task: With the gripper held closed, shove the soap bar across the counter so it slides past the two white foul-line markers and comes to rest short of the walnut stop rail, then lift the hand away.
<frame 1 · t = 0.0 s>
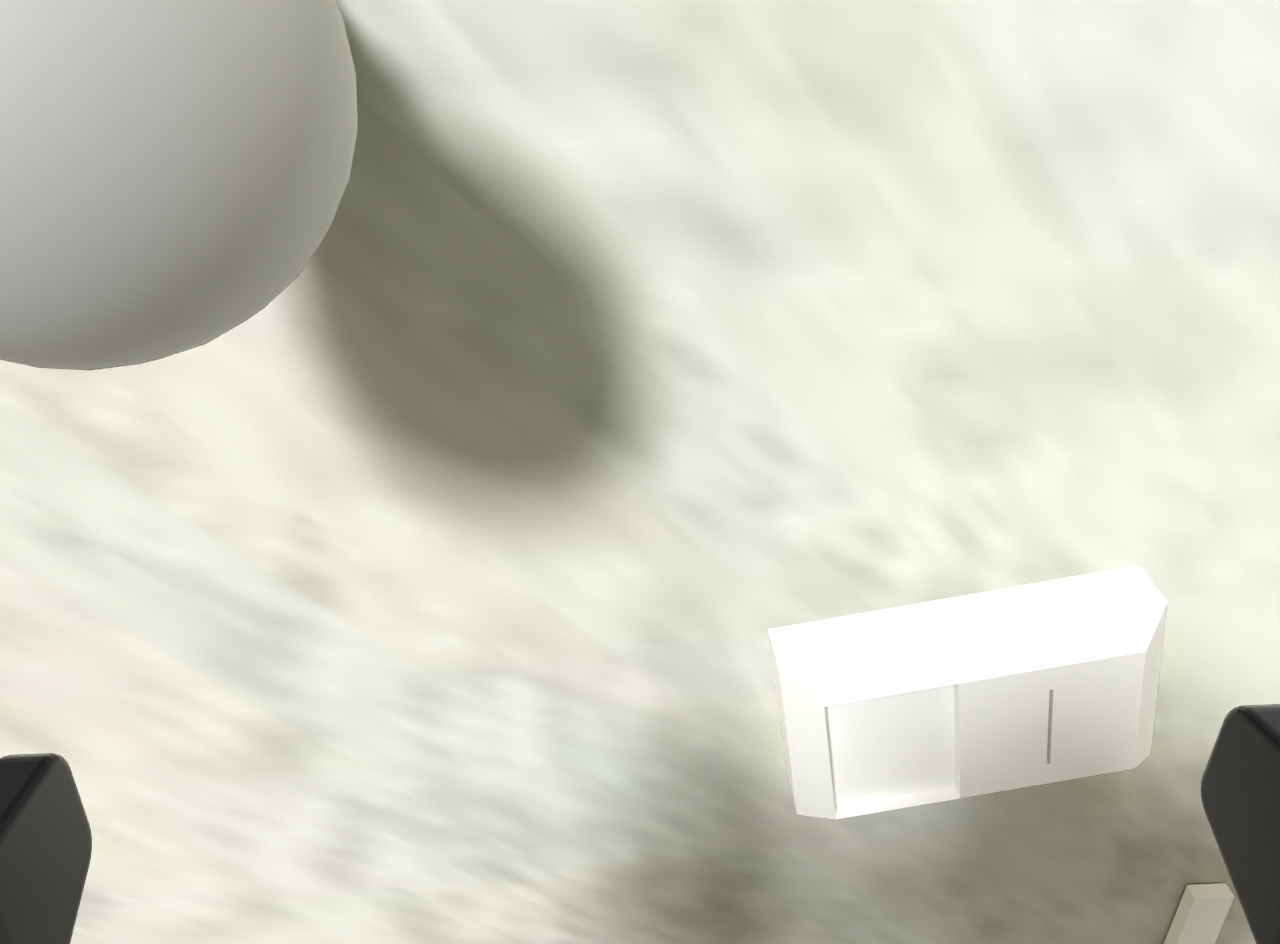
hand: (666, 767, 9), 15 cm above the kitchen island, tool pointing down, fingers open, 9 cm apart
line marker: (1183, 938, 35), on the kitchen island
soap bar: (947, 658, 29), on the kitchen island
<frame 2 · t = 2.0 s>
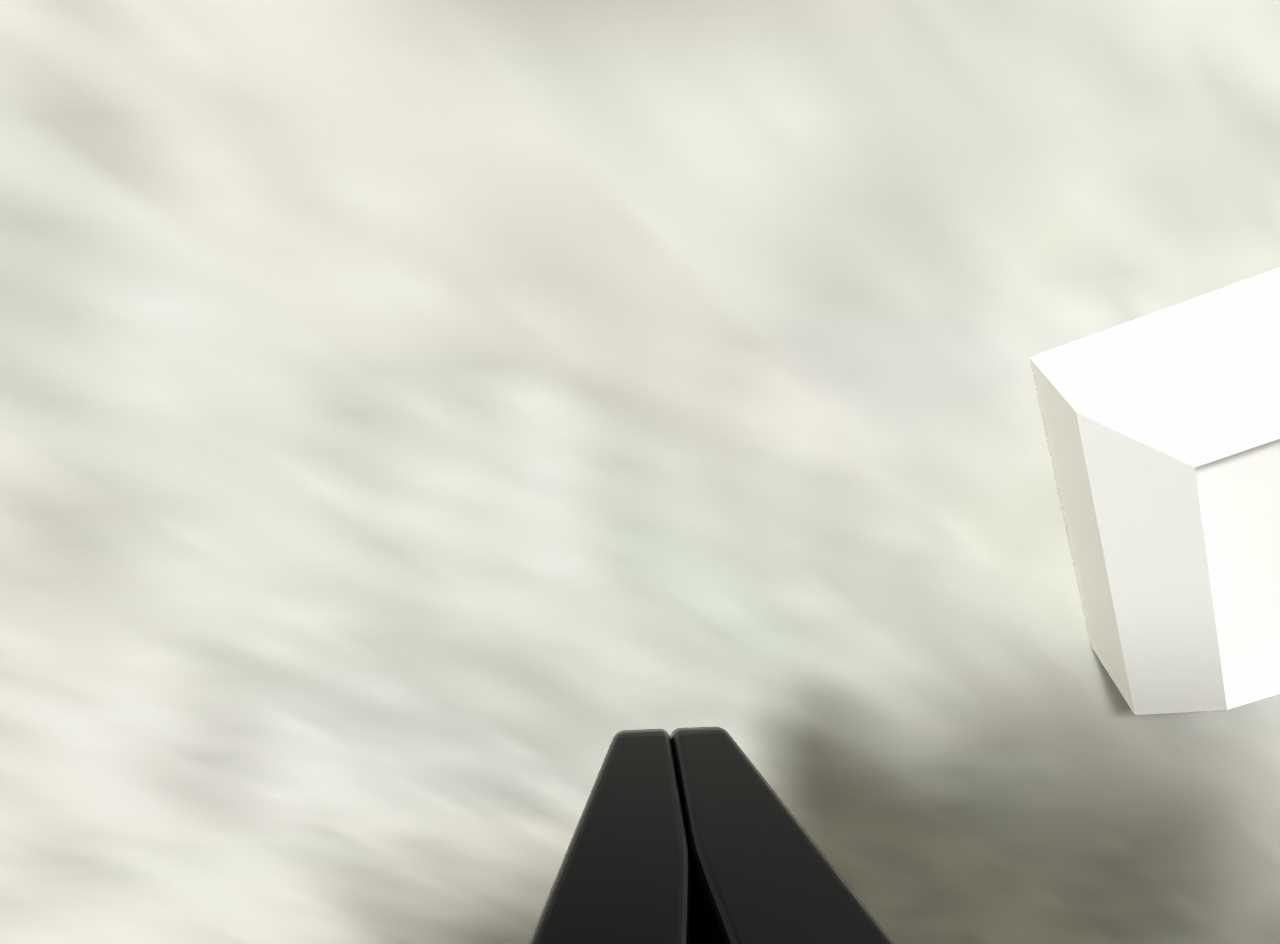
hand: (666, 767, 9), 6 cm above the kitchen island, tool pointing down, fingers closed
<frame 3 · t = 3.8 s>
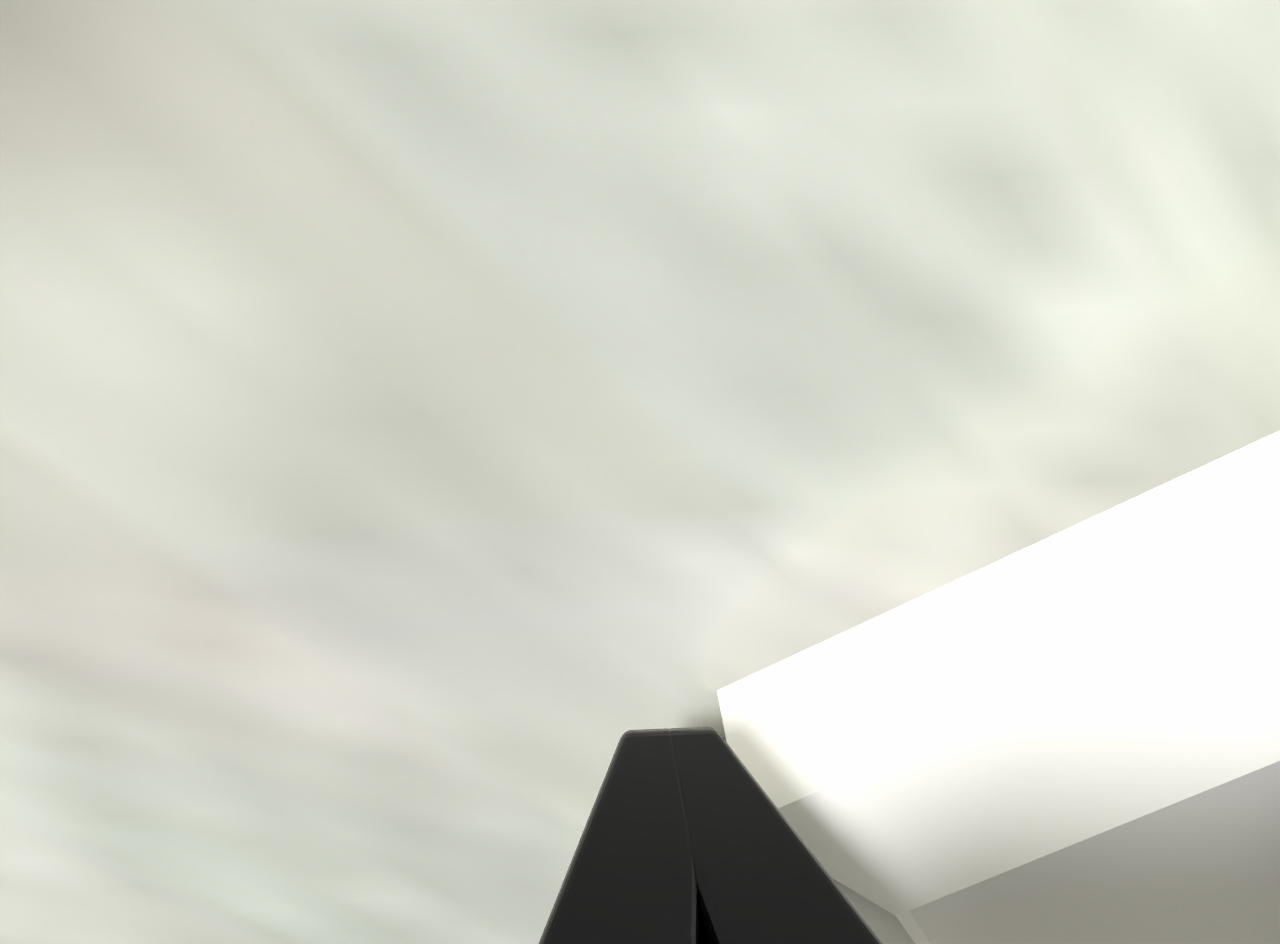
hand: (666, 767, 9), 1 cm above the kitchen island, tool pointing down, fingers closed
soap bar: (1238, 631, 11), on the kitchen island, touching gripper
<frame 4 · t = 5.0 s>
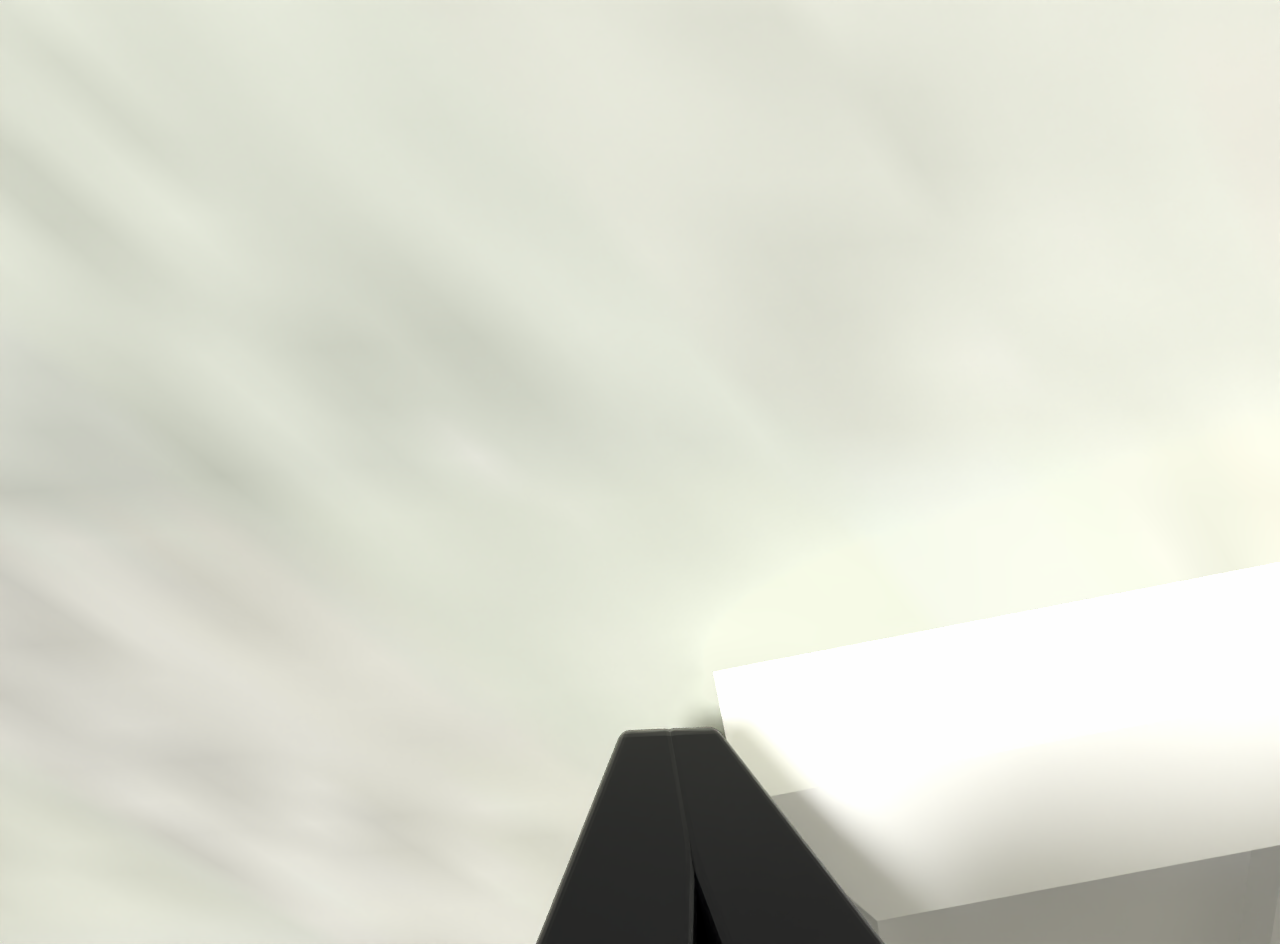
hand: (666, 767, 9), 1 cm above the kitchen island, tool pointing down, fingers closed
soap bar: (1169, 735, 12), on the kitchen island, touching gripper
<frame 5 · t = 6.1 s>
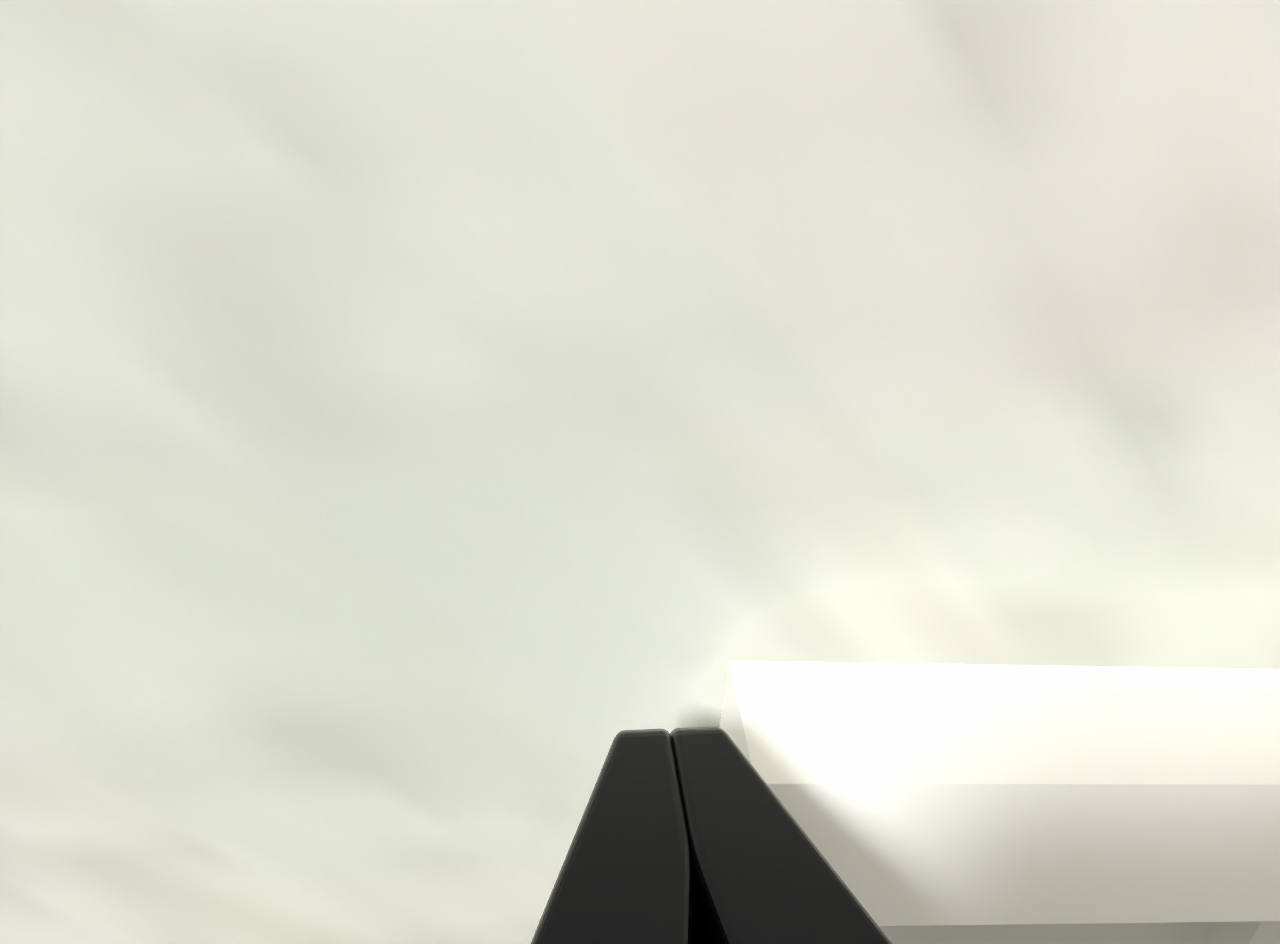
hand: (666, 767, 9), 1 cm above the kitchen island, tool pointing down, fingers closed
soap bar: (1105, 807, 12), on the kitchen island, touching gripper
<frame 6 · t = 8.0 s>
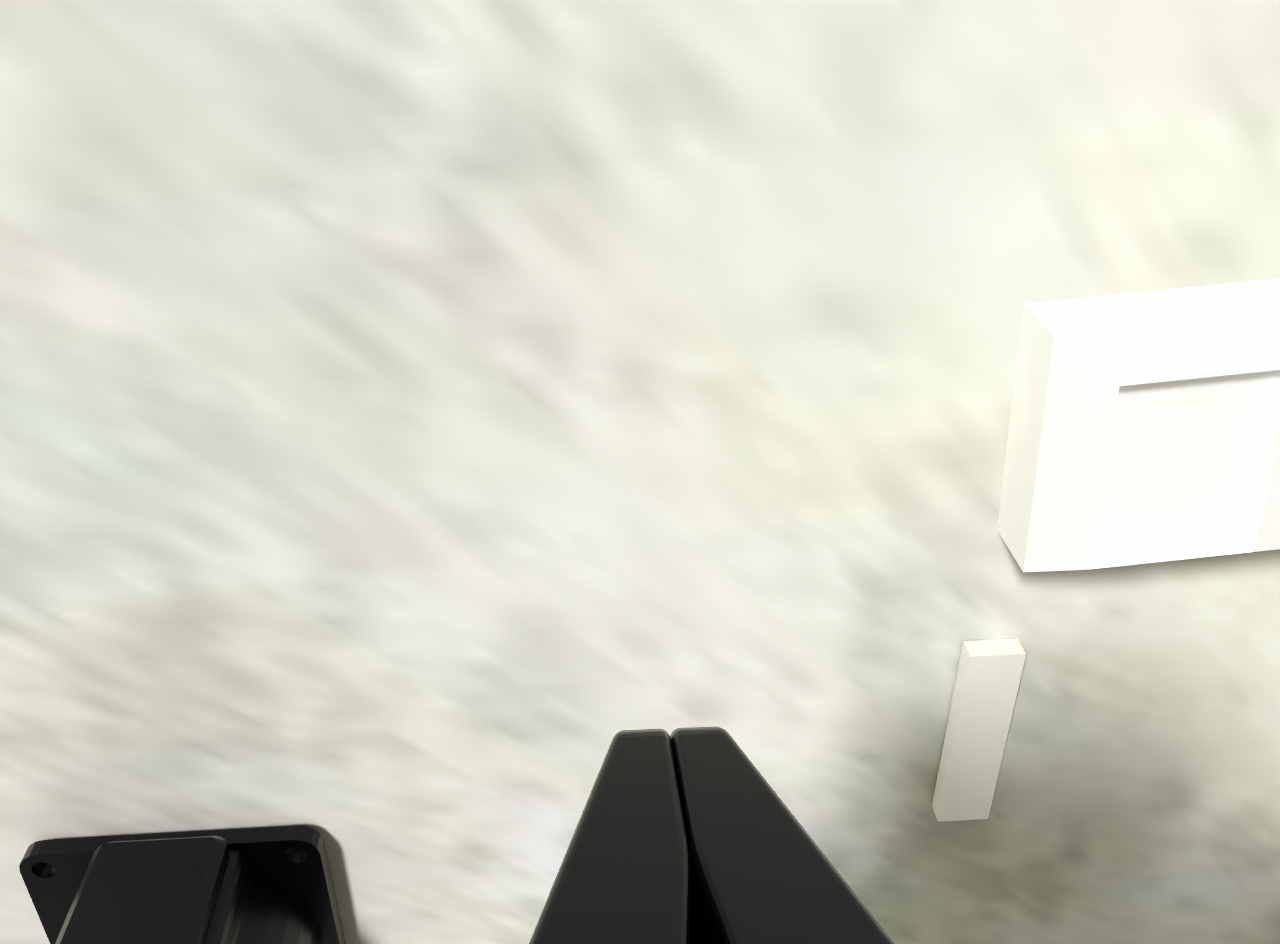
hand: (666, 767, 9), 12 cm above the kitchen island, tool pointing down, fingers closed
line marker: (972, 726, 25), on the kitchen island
soap bar: (1225, 386, 22), on the kitchen island
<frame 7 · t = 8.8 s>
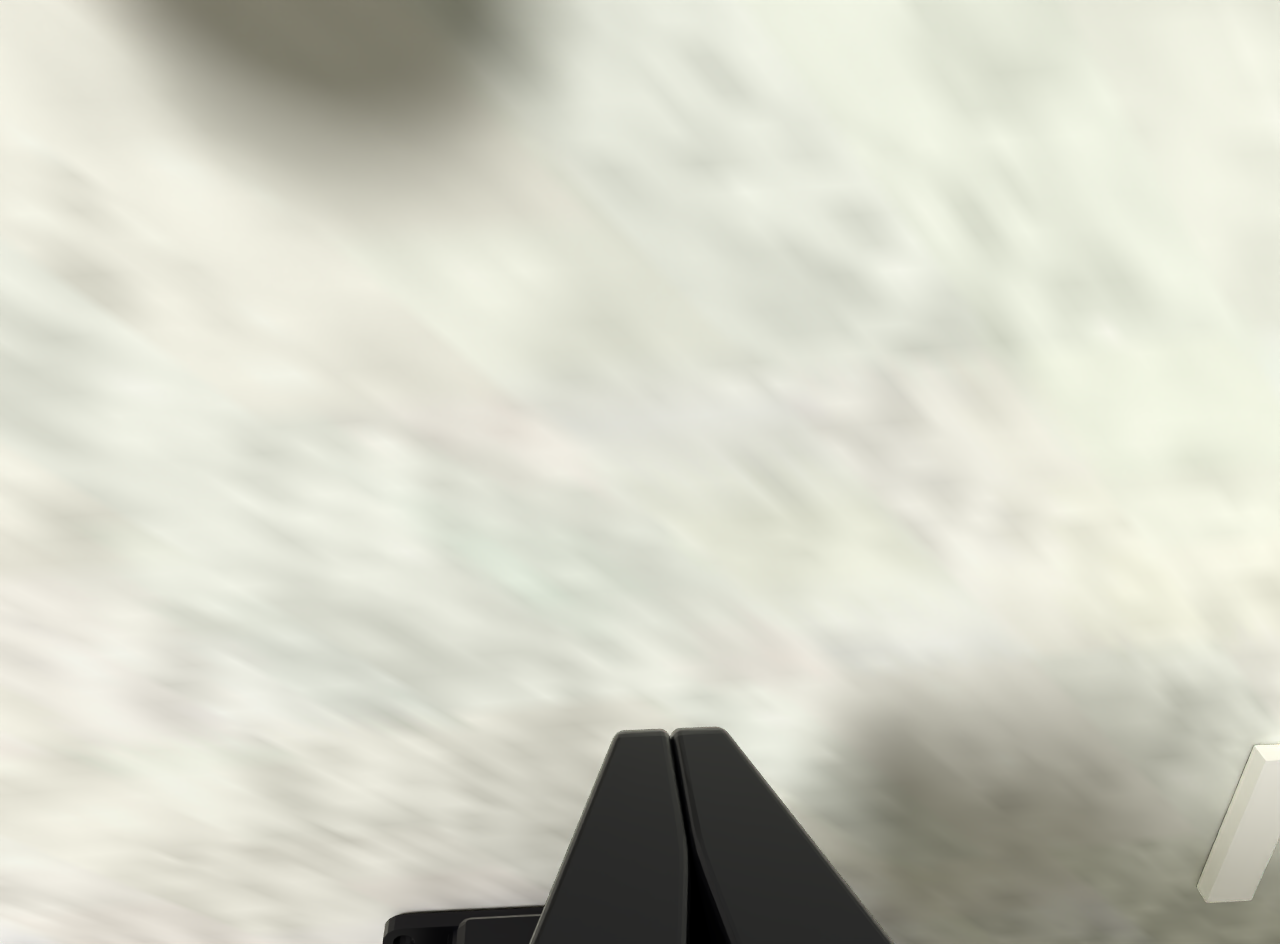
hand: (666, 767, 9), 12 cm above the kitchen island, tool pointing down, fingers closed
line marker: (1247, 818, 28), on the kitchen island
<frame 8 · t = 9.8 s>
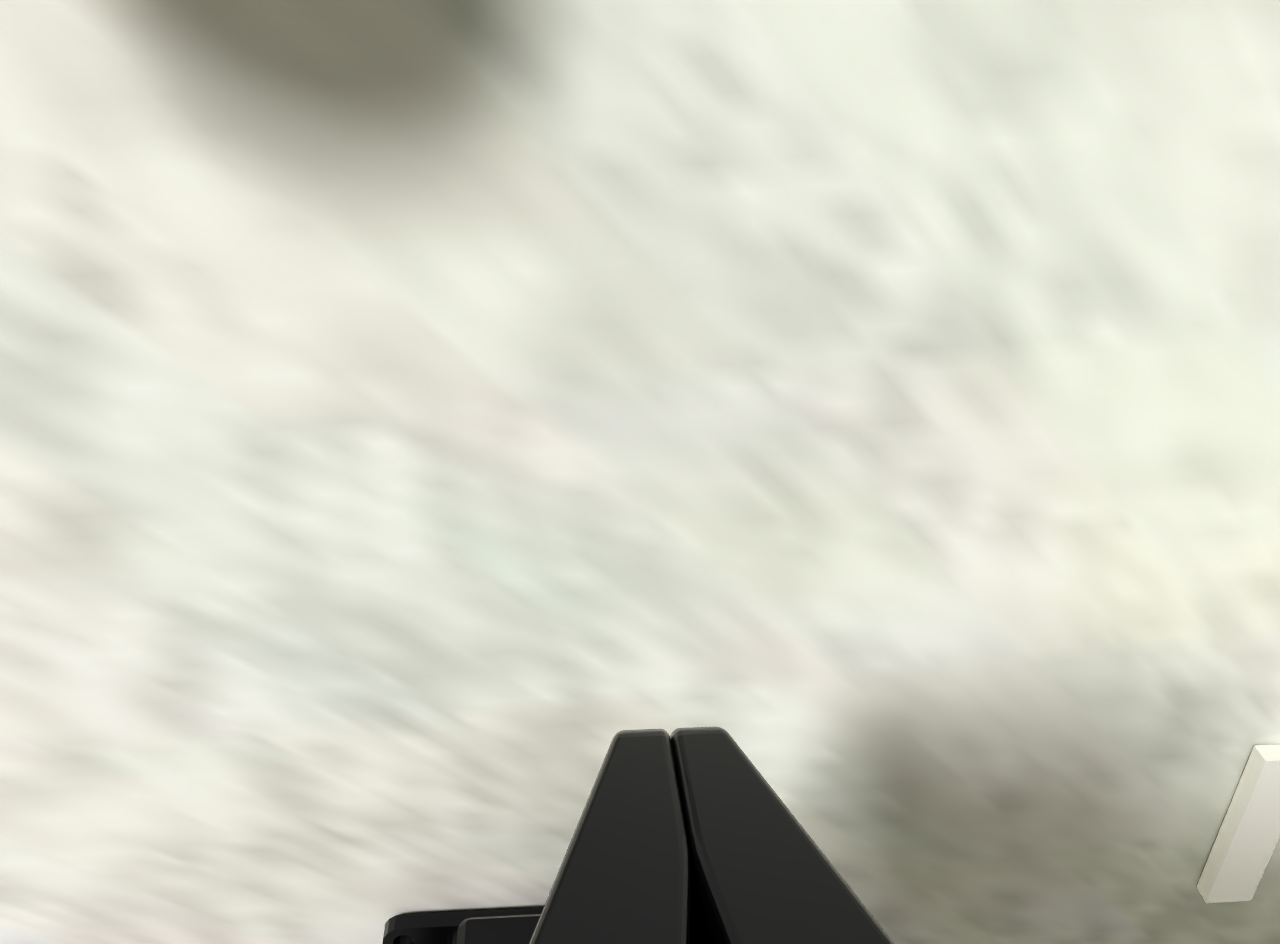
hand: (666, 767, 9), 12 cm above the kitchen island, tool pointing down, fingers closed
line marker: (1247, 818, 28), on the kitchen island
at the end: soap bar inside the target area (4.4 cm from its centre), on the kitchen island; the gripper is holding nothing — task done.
